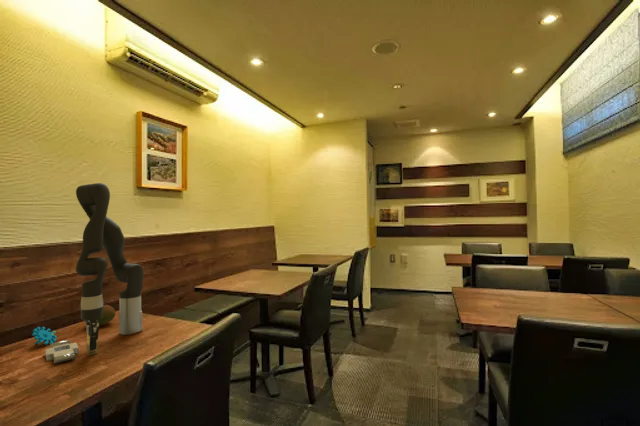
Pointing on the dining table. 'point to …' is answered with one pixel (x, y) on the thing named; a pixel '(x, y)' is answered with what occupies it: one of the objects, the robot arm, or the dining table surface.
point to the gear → (44, 335)
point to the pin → (89, 352)
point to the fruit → (106, 315)
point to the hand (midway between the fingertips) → (92, 348)
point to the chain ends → (62, 351)
